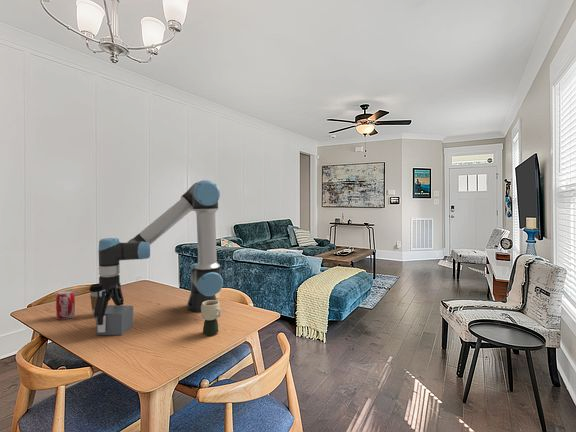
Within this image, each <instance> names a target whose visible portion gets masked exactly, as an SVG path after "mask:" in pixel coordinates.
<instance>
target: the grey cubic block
mask: <svg viewBox="0 0 576 432" xmlns="http://www.w3.org/2000/svg"><path fill="white" fill-rule="evenodd" d="M104 316H105V317H106V332H98V317H95V335H97V336H123V334H125V333H126V332H128V330H129V329H131V328H132V327H133V326H134V305H124V304H123V305H115V304H113V305H111V304H108V306H107V308H106V311H105V314H104Z"/></svg>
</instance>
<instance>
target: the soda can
mask: <svg viewBox="0 0 576 432" xmlns="http://www.w3.org/2000/svg"><path fill="white" fill-rule="evenodd" d="M55 297H56V298H55V313H56V318H57V319H59V320H62V321H63V320H68V319H69V320H70V319H72V317H74V316H75V315H76V314H75V313H76V310H75V309H76V301H75V293H74V291H73V290H62V291H59V292H57V295H56V296H55Z"/></svg>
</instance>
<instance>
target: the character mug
mask: <svg viewBox="0 0 576 432" xmlns="http://www.w3.org/2000/svg"><path fill="white" fill-rule="evenodd" d="M220 307H221V305H220V301H219V300H208V301H204V302H203V303H202V305H201V318H202V319H203V320H204V322H203V329H202V334H203V335H206V336H212V335H214V334H217V333H219V324H218V318H221V316H222V309H221V308H220Z"/></svg>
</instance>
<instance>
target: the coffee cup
mask: <svg viewBox="0 0 576 432" xmlns="http://www.w3.org/2000/svg"><path fill="white" fill-rule="evenodd" d="M102 288H103V287H102V286H100V285H99V282H98V283H93V284H91V285H90V286H89V290H88V291H89V293H90V304H91V311H92V317H93V318H95V317H94V311H95V306H96V301H97V292H98V291H102ZM107 306H109V304H108V305H107Z"/></svg>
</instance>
